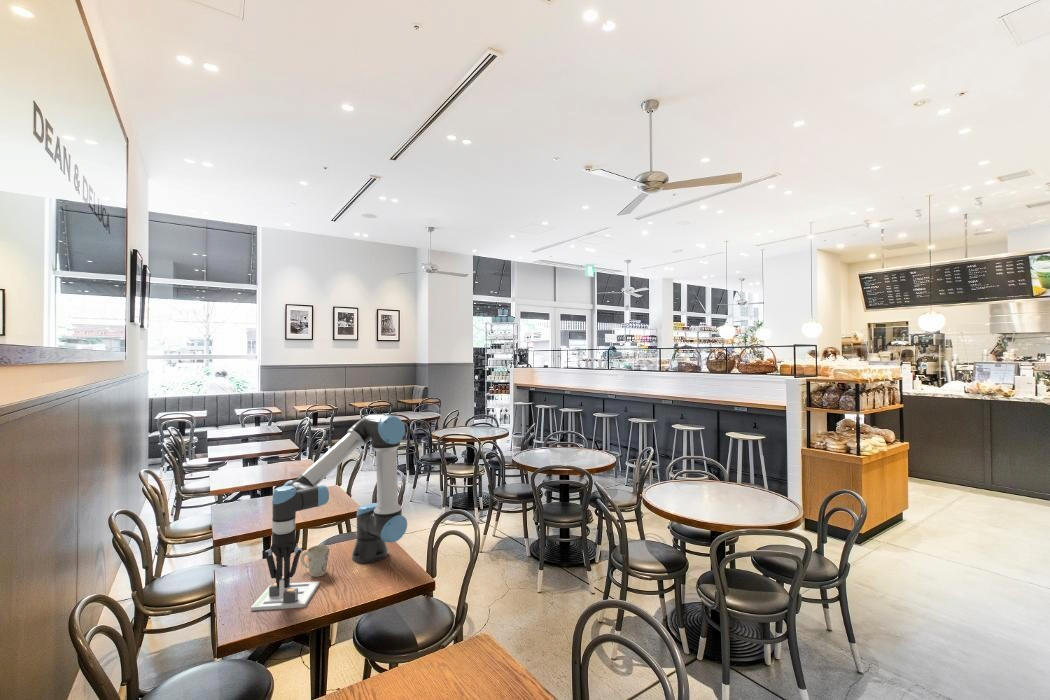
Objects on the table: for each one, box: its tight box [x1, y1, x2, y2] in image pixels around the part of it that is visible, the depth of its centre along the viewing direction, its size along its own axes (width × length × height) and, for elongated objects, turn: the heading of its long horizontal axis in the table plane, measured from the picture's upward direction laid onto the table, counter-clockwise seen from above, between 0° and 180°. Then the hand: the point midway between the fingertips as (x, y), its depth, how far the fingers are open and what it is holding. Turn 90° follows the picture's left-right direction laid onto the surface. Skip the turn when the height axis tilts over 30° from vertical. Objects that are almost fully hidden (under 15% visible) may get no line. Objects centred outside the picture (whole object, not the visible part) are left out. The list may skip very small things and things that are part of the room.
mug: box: [300, 544, 330, 578], centre depth 193 cm, size 8×13×10 cm, turn 78°
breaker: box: [283, 588, 298, 603], centre depth 167 cm, size 4×3×4 cm
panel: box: [250, 575, 320, 612], centre depth 173 cm, size 18×17×5 cm
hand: (282, 596), depth 167 cm, fingers closed
